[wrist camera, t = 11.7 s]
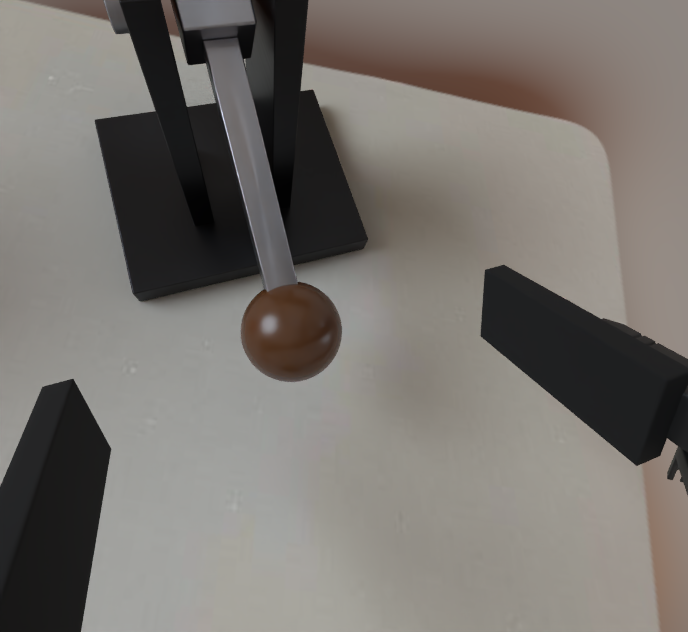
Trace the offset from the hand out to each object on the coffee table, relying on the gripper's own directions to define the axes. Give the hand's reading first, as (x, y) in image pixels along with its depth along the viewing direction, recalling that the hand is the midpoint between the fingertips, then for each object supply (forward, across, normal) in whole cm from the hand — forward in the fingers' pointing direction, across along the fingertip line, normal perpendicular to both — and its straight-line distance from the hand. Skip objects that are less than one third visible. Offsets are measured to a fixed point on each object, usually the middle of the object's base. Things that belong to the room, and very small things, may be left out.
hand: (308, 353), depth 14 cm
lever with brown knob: (+5, 0, +4) cm, 7 cm away
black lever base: (+14, 0, +2) cm, 14 cm away
